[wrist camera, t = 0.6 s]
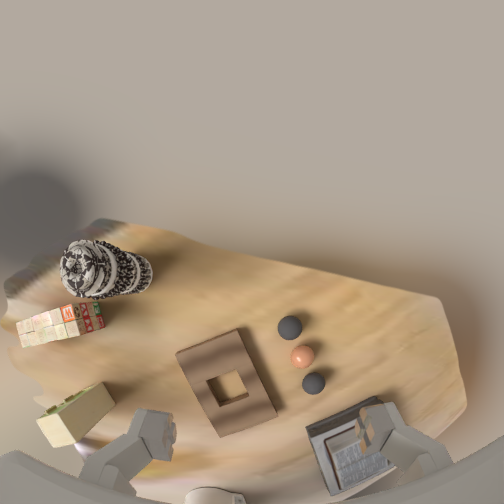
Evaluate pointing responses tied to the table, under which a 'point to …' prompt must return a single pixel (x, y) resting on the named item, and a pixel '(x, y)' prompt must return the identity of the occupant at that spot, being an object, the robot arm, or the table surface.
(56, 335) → the stack of blocks
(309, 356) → the terracotta ball
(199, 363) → the walnut board
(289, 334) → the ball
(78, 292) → the black white tall cylinder
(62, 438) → the toy refrigerator
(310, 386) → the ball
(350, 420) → the bible
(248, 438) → the table surface
